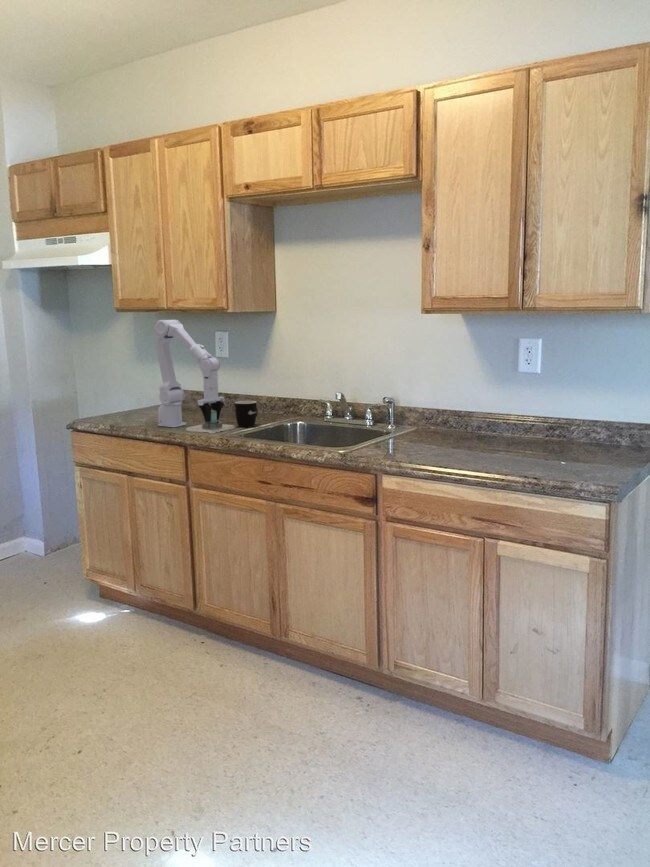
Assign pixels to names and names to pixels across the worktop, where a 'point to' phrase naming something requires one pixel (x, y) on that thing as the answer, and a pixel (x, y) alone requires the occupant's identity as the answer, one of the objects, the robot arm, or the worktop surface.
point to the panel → (210, 427)
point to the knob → (213, 417)
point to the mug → (246, 413)
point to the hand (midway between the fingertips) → (211, 420)
